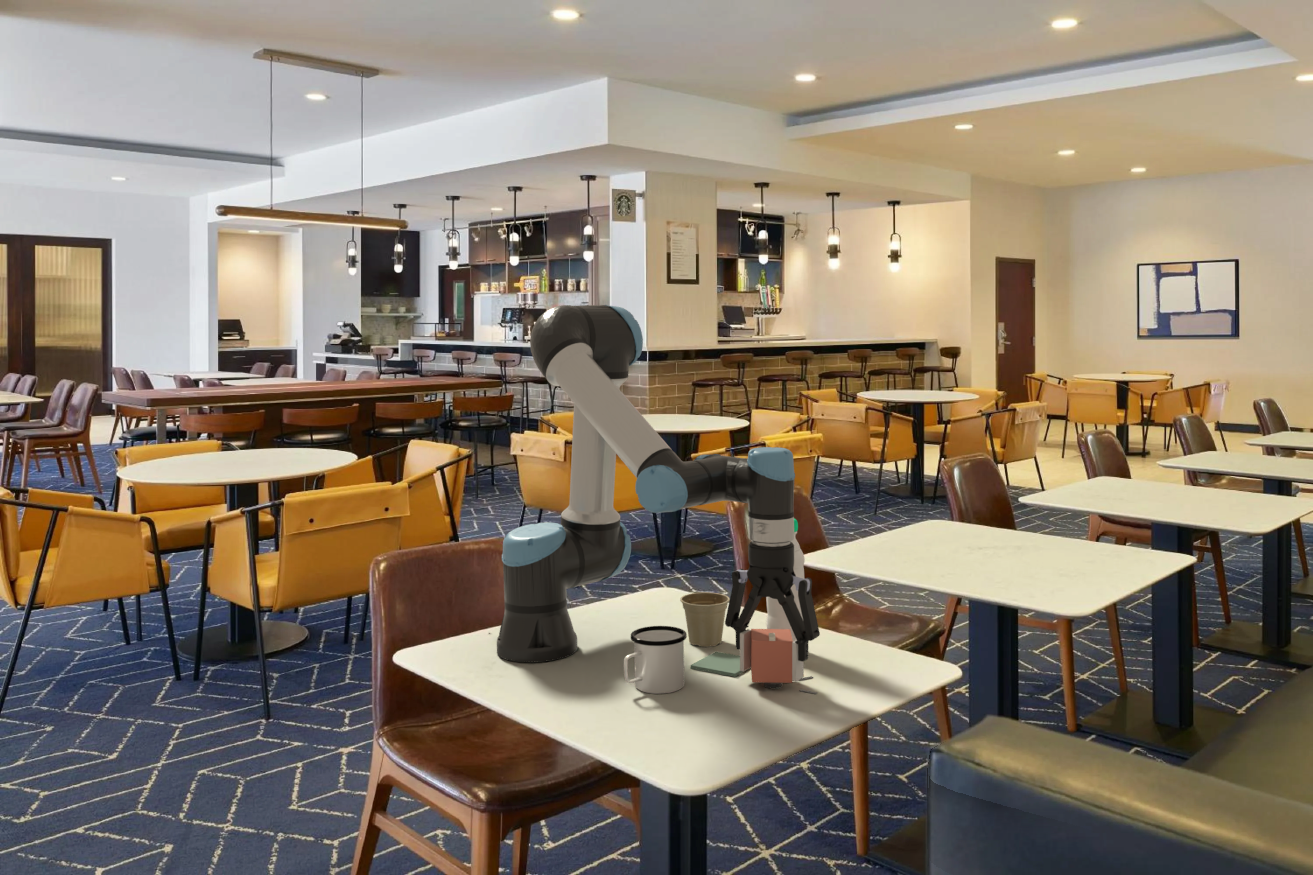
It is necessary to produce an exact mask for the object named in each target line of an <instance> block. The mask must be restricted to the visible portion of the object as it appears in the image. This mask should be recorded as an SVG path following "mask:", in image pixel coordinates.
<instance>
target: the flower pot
mask: <svg viewBox="0 0 1313 875" xmlns="http://www.w3.org/2000/svg"><path fill="white" fill-rule="evenodd" d="M729 601H730V597H729V596H728V595H726V594H722V593H717V592H709V591H708V592H705V591H703V592H701V591H700V592H694V593H688V594H685V595H683V596H681V597H680V602H681V604H682V608H683V610H684V613H685V614H684V615H685V622H686V628H687V637H688V641H689V644H691V645H692V646H699V647H702V648H707V647H715V646H717V645H719V644H722V640H723V633H724V625H725V619H726V612H727V611H726V610H727V609H728V605H729Z"/></svg>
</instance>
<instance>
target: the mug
mask: <svg viewBox="0 0 1313 875" xmlns="http://www.w3.org/2000/svg"><path fill="white" fill-rule="evenodd" d="M687 637H688V633H687V632H686V630H684V629H682V628H680V627H675V626H668V625H651V626H644V627H640V628H637V629H635V630H633V631H631V633H630V640H631V641H632V642H633V651H634V652H633V653H630V654H627V655H626V656H625V657H624V659H623V674H624V675H623V676H624V681H625V682H626V683H628V684H634V687H635V688H636V689H638V690H639V691H641V692H643V693H647V694H655V695H659V694H660V695H662V694H663V695H664V694H671V693H675V692H677V691H679V690H681V689H682V688H684V686H685V653H684V652H685V651H684V650H685V648H684V647H685V646H684V645H685V644H684V643H685V642H684V641H685V640H687ZM631 658H634V661H633V662H634V666H633V667H634V678H632V679H629V668H628V667H629V660H630V659H631Z"/></svg>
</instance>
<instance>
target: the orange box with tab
mask: <svg viewBox="0 0 1313 875" xmlns="http://www.w3.org/2000/svg"><path fill="white" fill-rule="evenodd" d="M750 630H751V668H750V672H751V673H750V674H751V683H763V682H771V683H782V684H783V683H784V684H788V683H789V684H792V683H793V681H792V642H793V640H792V636H791V631H790V629H767V628H750Z"/></svg>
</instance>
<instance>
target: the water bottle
mask: <svg viewBox="0 0 1313 875" xmlns="http://www.w3.org/2000/svg"><path fill="white" fill-rule="evenodd" d="M798 530H799V523H798V520H797V519H796V518H794V539H793V540H792V541H790V542H792V543H793V544H794V567H793V570H794V573H795V575H796V577H799V578H803V579H805V569H804V568H805V567H804V565H805V562H806V560H805V559H806V558H805V555H804V553H803V550H802V549H801V546H800V544H799V542H798V540H797V538H796V535H797V534H798ZM791 590H792V593H793V595H794V601H795V603H796V605H797V608H798V610H799V612H800V615H801V617H802V612H801V608H800V603H799V598H798V591H797V590H796V586H795V584H793V585H792V587H791ZM765 599H766V611H767V612H766V613H767V615H766V629H790V631H791V636H792V640H793V642H794V641H795V640H796V637H795V635H794V633H793V630H792V628H791V626H790V624H789V621H788V619H787V617H786V614H785V612H784V610H783V608H782V606H781V605H780V604H779V602H778V600H777V599H773V598H770V597H765ZM802 619H803V617H802Z"/></svg>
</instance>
